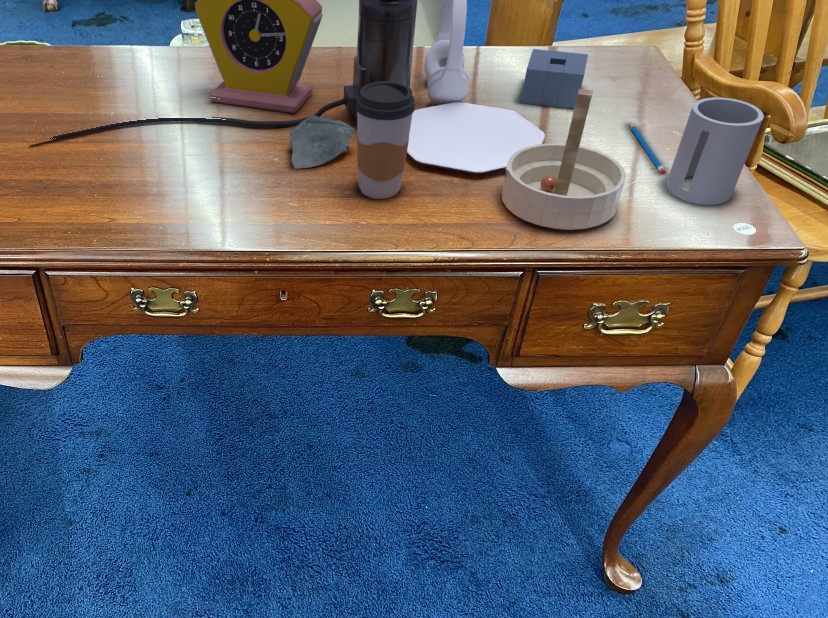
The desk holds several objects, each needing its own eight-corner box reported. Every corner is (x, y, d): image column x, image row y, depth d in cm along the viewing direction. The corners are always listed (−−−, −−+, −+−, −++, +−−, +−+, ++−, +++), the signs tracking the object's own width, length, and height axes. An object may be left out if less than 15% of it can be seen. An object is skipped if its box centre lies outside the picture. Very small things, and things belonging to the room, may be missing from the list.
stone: (357, 172, 129) (355, 128, 133) (356, 154, 125) (354, 109, 130) (291, 178, 130) (291, 134, 134) (288, 160, 126) (288, 115, 131)
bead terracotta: (537, 190, 118) (543, 196, 120) (554, 186, 117) (559, 192, 119) (538, 174, 119) (543, 181, 121) (554, 171, 117) (559, 177, 119)
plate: (552, 124, 137) (554, 116, 136) (522, 189, 121) (524, 180, 120) (418, 103, 144) (419, 95, 143) (374, 162, 129) (375, 153, 128)
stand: (520, 102, 143) (526, 68, 139) (526, 81, 150) (533, 48, 146) (576, 109, 141) (584, 74, 137) (580, 87, 147) (588, 54, 143)
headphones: (426, 117, 140) (439, -7, 126) (421, 75, 153) (432, -42, 139) (467, 117, 140) (486, -7, 126) (459, 75, 153) (474, -42, 139)
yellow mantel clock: (196, 100, 147) (184, -29, 132) (217, 81, 153) (207, -44, 138) (309, 116, 141) (310, -17, 126) (326, 95, 148) (328, -34, 132)
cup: (732, 181, 122) (764, 103, 113) (729, 209, 116) (762, 130, 107) (669, 170, 125) (695, 93, 116) (662, 197, 119) (689, 119, 110)
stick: (551, 202, 117) (577, 93, 106) (553, 196, 119) (579, 88, 107) (564, 204, 117) (592, 95, 106) (565, 198, 118) (592, 89, 107)
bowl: (521, 237, 112) (528, 202, 108) (487, 181, 124) (493, 147, 120) (633, 228, 113) (645, 193, 109) (590, 173, 124) (599, 139, 121)
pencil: (659, 174, 124) (661, 170, 123) (627, 125, 136) (628, 121, 136) (665, 174, 124) (666, 170, 123) (632, 125, 136) (633, 121, 136)
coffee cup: (406, 176, 125) (415, 79, 115) (407, 204, 119) (417, 104, 109) (353, 175, 126) (357, 79, 115) (351, 202, 120) (355, 103, 109)
